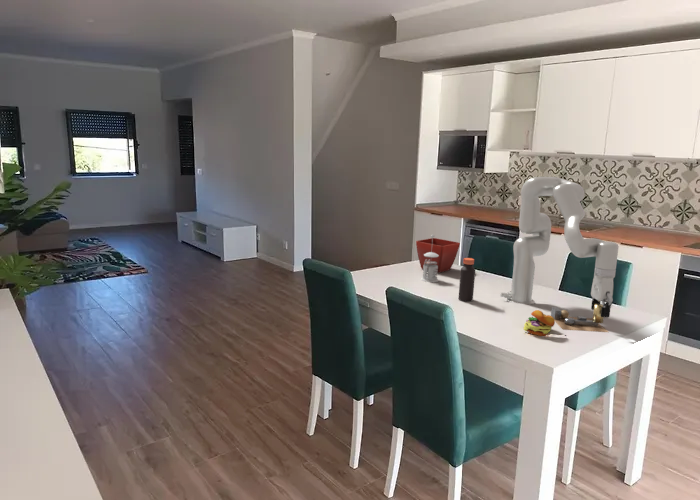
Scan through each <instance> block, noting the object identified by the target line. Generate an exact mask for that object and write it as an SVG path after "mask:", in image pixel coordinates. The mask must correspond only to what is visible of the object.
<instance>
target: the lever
mask: <svg viewBox="0 0 700 500" xmlns="http://www.w3.org/2000/svg"><path fill="white" fill-rule="evenodd" d="M602 307H603V305H602V303H600V304H594V310H593V313H592V318H593V319H592V320H587V318H588V317H586V316H580V315H578V316H576V317H577V320H576V319H573V318H565V322H564V323H565V324H566V325H575V324H580V325H597V326H598V323H599V324H604V318H605V317H601V308H602Z"/></svg>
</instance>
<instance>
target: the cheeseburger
mask: <svg viewBox="0 0 700 500" xmlns="http://www.w3.org/2000/svg"><path fill="white" fill-rule="evenodd" d="M530 314H531V317H530V316H529V317H528V318H527V319H526V321H525V322H524V324H523V325H524V326H523V330H524V333H525V334H527V333H528V334H530V335H534V336H539V337H546V336H548V335H549V333H550V331H551V330H552V327H554V326H555V323H556V322H555V321H554V318H553V317H552V316H551V314H550V315H549V314H544V312H543V311H542V310H539V309H535V310H534V311H532V312H531V313H530Z"/></svg>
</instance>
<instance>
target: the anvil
mask: <svg viewBox="0 0 700 500" xmlns="http://www.w3.org/2000/svg"><path fill="white" fill-rule="evenodd" d="M550 311H551V313H550V316H552V317H553V318H554V320H560V318H561V311H562V310H561V309H560V308H559V307H558V306H551V310H550Z"/></svg>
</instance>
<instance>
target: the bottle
mask: <svg viewBox="0 0 700 500" xmlns="http://www.w3.org/2000/svg"><path fill="white" fill-rule="evenodd" d="M462 261H463V262H462V263H463V264H462V265H463V266H462V267H461V268H460V273H459V275H460V276H459V287H458V301H462V302H465V303H466V302H467V303H469V302H472V301H474V292H475V291H474V289H475V278H476V269H475V267H474V264H475V259H474V258H472V257H464V258H463V260H462Z"/></svg>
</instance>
